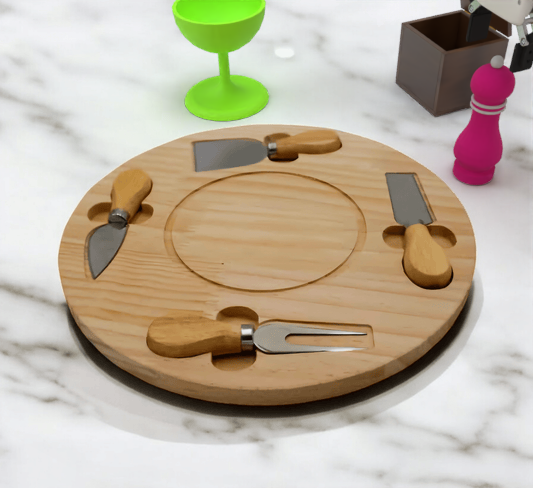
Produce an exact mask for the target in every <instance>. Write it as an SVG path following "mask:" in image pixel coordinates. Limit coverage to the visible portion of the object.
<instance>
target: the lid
mask: <svg viewBox="0 0 533 488" xmlns="http://www.w3.org/2000/svg"><path fill="white" fill-rule="evenodd" d="M459 1H460V8H461V10H465V11H467V12H468V13H470V12H469V5H470V1H469V0H459ZM470 14H472V13H470ZM489 26H491V27H492V28H494V29H495V30H496V31H497V32H499V33H500V34H502V35H503V36H505V37H506V38H510V37H512V36H513V24H511V23H509V22H508V21H506V20H504V19H503V18H501V17H500V16H498V15H496V14H495V13H493V12H492V16H491V21H490V25H489Z"/></svg>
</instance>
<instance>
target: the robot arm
mask: <svg viewBox="0 0 533 488" xmlns="http://www.w3.org/2000/svg"><path fill="white" fill-rule="evenodd" d="M469 1H470V5H469V12H470V13H472V14H470V20H469V25H468V30H467V36H466V41H468V42H473V41H478V40H482V39H486V38H487V35H488V30H489V25H490V21H491V16H492V12H493V13H495V14H496V15H498V16H500V17H501V18H503V19H504V20H506V21H508V22H509V23H511V24H512V26H515V27H516V31H517V36H518V41H519V42H516V43H515V44H514V49H513V52H512V56H511V60H510V65H509V67H508V68H509V70H510V72H512V73H513V74H516V73H519V72H520V73H521V72H523V71H527V70H531V68H532V67H533V0H469ZM528 25H530V27H531V32H530V33H529V31H528V27H527V26H528Z"/></svg>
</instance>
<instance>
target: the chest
mask: <svg viewBox="0 0 533 488" xmlns="http://www.w3.org/2000/svg"><path fill="white" fill-rule="evenodd" d="M469 20H470V14H468V13H467V12H465V11H464V9H458V10H454V11H453V10H452V11H449V12H444V13H440V14H435V15H431V16H426V17H422V18H417V19H411V20H408V21H403V22H401V23H400V25H401V26H400V35H399V43H398V52H397V62H396V71H395V84H396V85H397V86H399V87H400V88H401V89H402V90H403V91H404V92H406V93H407V94H408V95H409V96H410V97H411V98H412V99H414V101H416V102H417V103H418V104H419V105H420V106H422V107H423V108H424V109H425V110H426V111H427V112H429V113H430V114H431V115H432V116H433V117H434V118H437V117H440V116H444V115H448V114H451V113H452V114H453V113H455V112H460V111H463V110H466V109H470V108H471V106H470V102H471V96H472V95H473V92H472V91H471V86H470V83H471V79H472V76H473V74H474V73H475V71H476V70H477V69H478V68H479V67H481V66H483V65H485V64H488V63H491V59H492V58H493V57H494V56H497V55H499V56H502V57H503V59H504V61H505V59H506V56H507V51H508V46H509V42H510V39H509V37H507V36H505V35H503V34H502V33H500V32H499V31H497V30H496V31H495V30H494V29H492V28H491V27H489V30H488V35H487V38H486V39H482V40H478V41H473V42H468V41H466V36H467V30H468V25H469ZM471 109H472V108H471Z"/></svg>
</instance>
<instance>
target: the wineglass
mask: <svg viewBox="0 0 533 488" xmlns="http://www.w3.org/2000/svg"><path fill="white" fill-rule="evenodd" d="M266 5H267V1H266V0H174V2H173V3H172V5H171V10H172V16H173V18H174V23H175V25H176V27H177V28H178V30H179V31H180V33H181V35H182V36H183V37H184V38H185V39H186V40H187V41H188V43H190V44H191V45H192V46H195V47H196V48H198V49H199V50H202V51H205V52H207V53H211V54H217V61H218V71H219V72H218V73H219V75H214V76H211V77H207V78H205V79H201V80H200V81H198V82H197V83H195V84H194V85H192V86H191V87H190V88H189V89H188V91H187V92H186V94H185V97H184V105H185V107H186V109H187V111H188V112H189V113H191V114H192V115H194V116H195V117H198V118H200V119H203V120H206V121H207V120H208V121H214V122H231V121H238V120H242V119H247V118H249V117H252V116H254V115H256V114H258V113H259V112H260V111H263V109H265V107H266V106H267V105H268V103H269V99H270V94H269V92H268V89H267V87H266V86H265V85H264V84H263V83H262V82H260V81H259V80H257V79H255V78H252V77H249V76H246V75H240V74H231V69H230V56H229V53H232V52H235V51H238V50H240V49H241V48H243V47H244V46H246V45H247V44H249V43H250V42H251V41H252V40H253V39H254V38H255V36H256V35H257V34H258V32H259V31H260V29H261V27H262V24H263V22H264V18H265V15H266V14H265V13H266Z"/></svg>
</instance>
